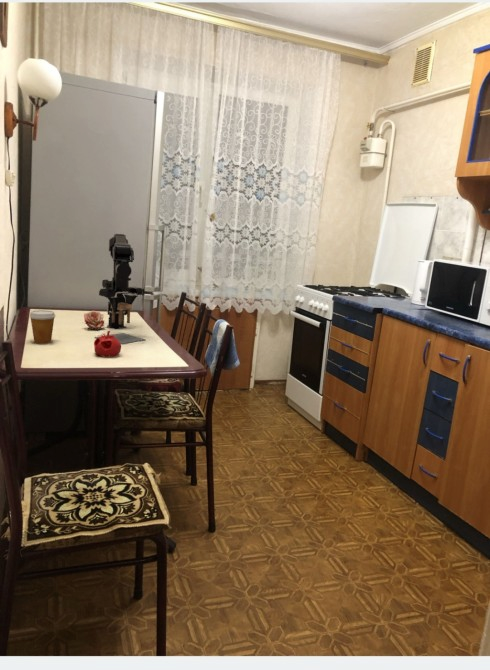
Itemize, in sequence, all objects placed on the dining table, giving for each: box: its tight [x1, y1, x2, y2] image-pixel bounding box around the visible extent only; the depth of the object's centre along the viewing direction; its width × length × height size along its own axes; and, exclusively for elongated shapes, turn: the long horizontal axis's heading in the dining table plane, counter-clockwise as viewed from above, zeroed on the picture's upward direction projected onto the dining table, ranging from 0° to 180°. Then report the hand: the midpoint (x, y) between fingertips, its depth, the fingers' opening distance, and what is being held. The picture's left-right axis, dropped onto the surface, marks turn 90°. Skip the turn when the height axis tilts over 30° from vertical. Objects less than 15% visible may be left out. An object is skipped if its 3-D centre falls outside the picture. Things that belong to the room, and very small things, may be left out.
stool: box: [111, 302, 133, 324], centre depth 214 cm, size 6×6×8 cm
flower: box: [81, 310, 105, 330], centre depth 232 cm, size 10×9×8 cm
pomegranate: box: [93, 330, 122, 358], centre depth 190 cm, size 10×10×9 cm
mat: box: [94, 332, 146, 345], centre depth 216 cm, size 15×15×1 cm
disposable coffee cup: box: [29, 309, 56, 345], centre depth 201 cm, size 10×10×12 cm
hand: (121, 312), depth 214 cm, fingers closed on stool, 6 cm apart
